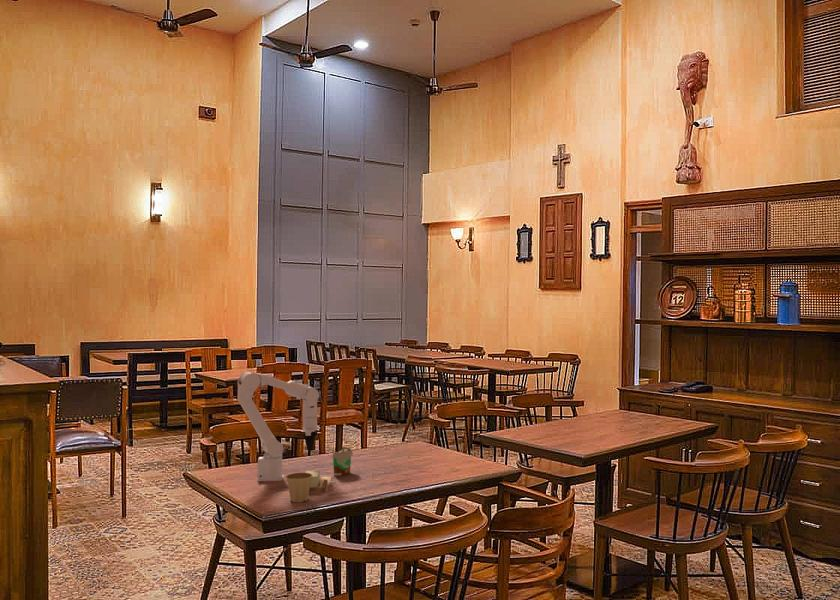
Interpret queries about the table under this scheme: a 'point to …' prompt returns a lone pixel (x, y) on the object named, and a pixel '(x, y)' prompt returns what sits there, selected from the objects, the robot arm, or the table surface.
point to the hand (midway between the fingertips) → (310, 450)
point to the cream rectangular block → (314, 479)
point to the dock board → (321, 485)
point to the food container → (342, 461)
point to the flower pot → (299, 486)
